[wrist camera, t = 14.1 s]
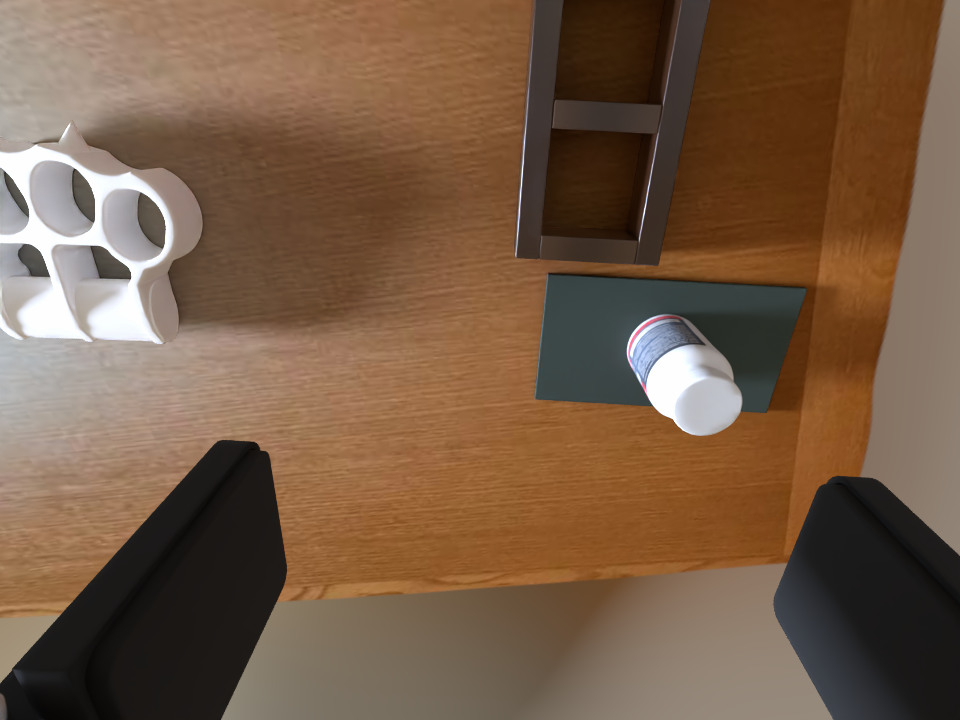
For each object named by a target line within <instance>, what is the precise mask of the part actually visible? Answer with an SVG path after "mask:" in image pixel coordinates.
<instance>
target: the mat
mask: <svg viewBox="0 0 960 720" xmlns="http://www.w3.org/2000/svg"><path fill="white" fill-rule="evenodd" d="M806 291H807V289H806V288H804V287H788V286H770V285H752V284H734V283H716V282H697V281H679V280H661V279H643V278H625V277H607V276H589V275H570V274H552V273H548V274H547V283H546V293H545V303H544V312H543V322H542V331H541V341H540V351H539V360H538V370H537V379H536V389H535V399H539V400H556V401H573V402H590V403H607V404H624V405H641V406H653V404H652V403H651V401H650V400H649V398H648V396H647V394H646V392H645V390H644V389H643V387H642V385H641V383H640V381H639V380H638V378H637V376H636V374H635V372H634V370H633V369H632V367H631V365H630V363H629V360H628V356H627V347H628V342H629V339H630V337H631V335H632V333H633V332H634V331H635V329H636V328H637V327H638V326H639V325H640V324H642V323H643V322H644V321H646V320H648V319H650V318H652V317H655V316H658V315H664V314H672V315H677V316H680V317H683V318H685V319H687V320H688V321H690V322H691V323H692V324H693V325H694V326H695V327H696V328H697V329H698V330H699V331H700V332H701V333H702V334H703V335H704V337H705V338H706V339H707V340H708V341H709V342H710V343H711V344H712V345H713V346H714V347H715V348H716V349H717V350H718V351H719V352H720V353H721V354H722V355H723V356H724V357H725V358H726V359H727V361H728V362H729V364H730V366H731V368H732V371H733V378H734V379H733V382H734V383H735V384H736V385H737V387H738V388H739V390H740V392H741V395H742V408H741V411H743V412H760V413H767V410H768V407H769V403H770V400H771V397H772V394H773V391H774V388H775V385H776V382H777V379H778V376H779V373H780V370H781V367H782V364H783V361H784V358H785V355H786V352H787V349H788V346H789V343H790V340H791V337H792V334H793V330H794V327H795V324H796V321H797V318H798V315H799V312H800V309H801V306H802V303H803V300H804V297H805V294H806Z"/></svg>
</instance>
